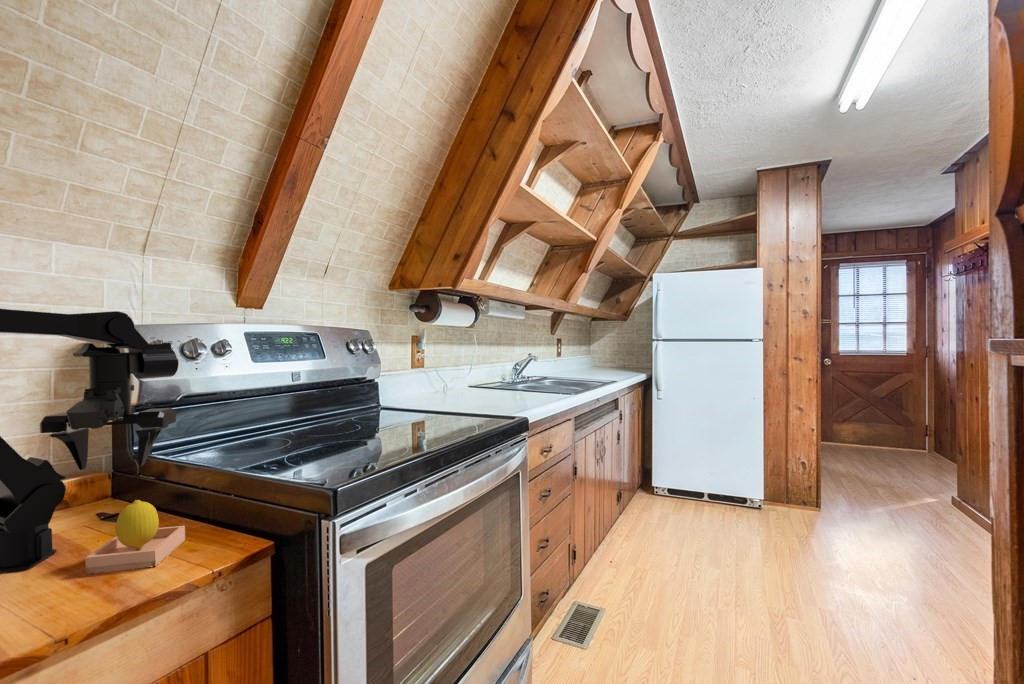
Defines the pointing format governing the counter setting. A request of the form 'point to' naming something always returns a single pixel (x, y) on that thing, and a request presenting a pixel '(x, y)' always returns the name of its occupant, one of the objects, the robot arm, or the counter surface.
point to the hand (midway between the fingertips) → (112, 467)
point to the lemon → (137, 524)
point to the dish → (135, 552)
